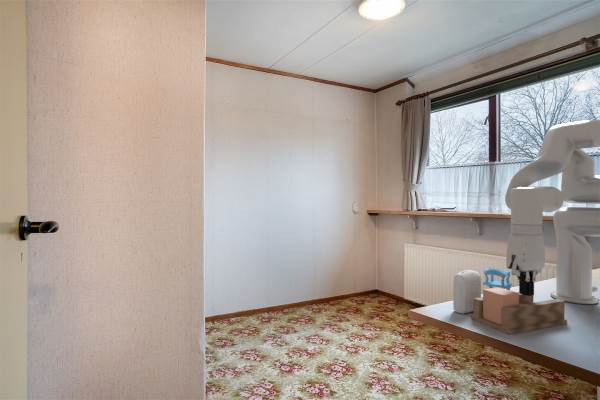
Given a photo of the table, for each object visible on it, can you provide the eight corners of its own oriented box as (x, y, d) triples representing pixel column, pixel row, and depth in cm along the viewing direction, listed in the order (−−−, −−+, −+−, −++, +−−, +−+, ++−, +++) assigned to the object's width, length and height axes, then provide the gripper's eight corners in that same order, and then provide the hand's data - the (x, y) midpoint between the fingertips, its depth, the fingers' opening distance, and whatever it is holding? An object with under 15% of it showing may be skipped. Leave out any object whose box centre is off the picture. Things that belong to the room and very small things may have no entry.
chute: (524, 309, 104) (524, 290, 104) (567, 323, 92) (567, 301, 92) (471, 318, 96) (471, 297, 96) (510, 334, 85) (510, 310, 85)
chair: (514, 304, 109) (515, 267, 109) (506, 309, 103) (506, 271, 103) (489, 299, 115) (489, 264, 115) (479, 303, 109) (479, 267, 109)
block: (498, 315, 96) (498, 287, 95) (518, 322, 90) (518, 292, 90) (482, 317, 93) (483, 289, 93) (502, 325, 88) (502, 295, 88)
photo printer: (469, 305, 108) (469, 267, 108) (483, 309, 104) (483, 269, 104) (451, 311, 102) (451, 270, 102) (464, 315, 99) (464, 273, 99)
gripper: (531, 228, 101) (531, 288, 102) (495, 230, 96) (495, 294, 96) (557, 230, 94) (557, 295, 95) (520, 233, 89) (520, 301, 89)
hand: (526, 294), depth 95 cm, fingers closed
